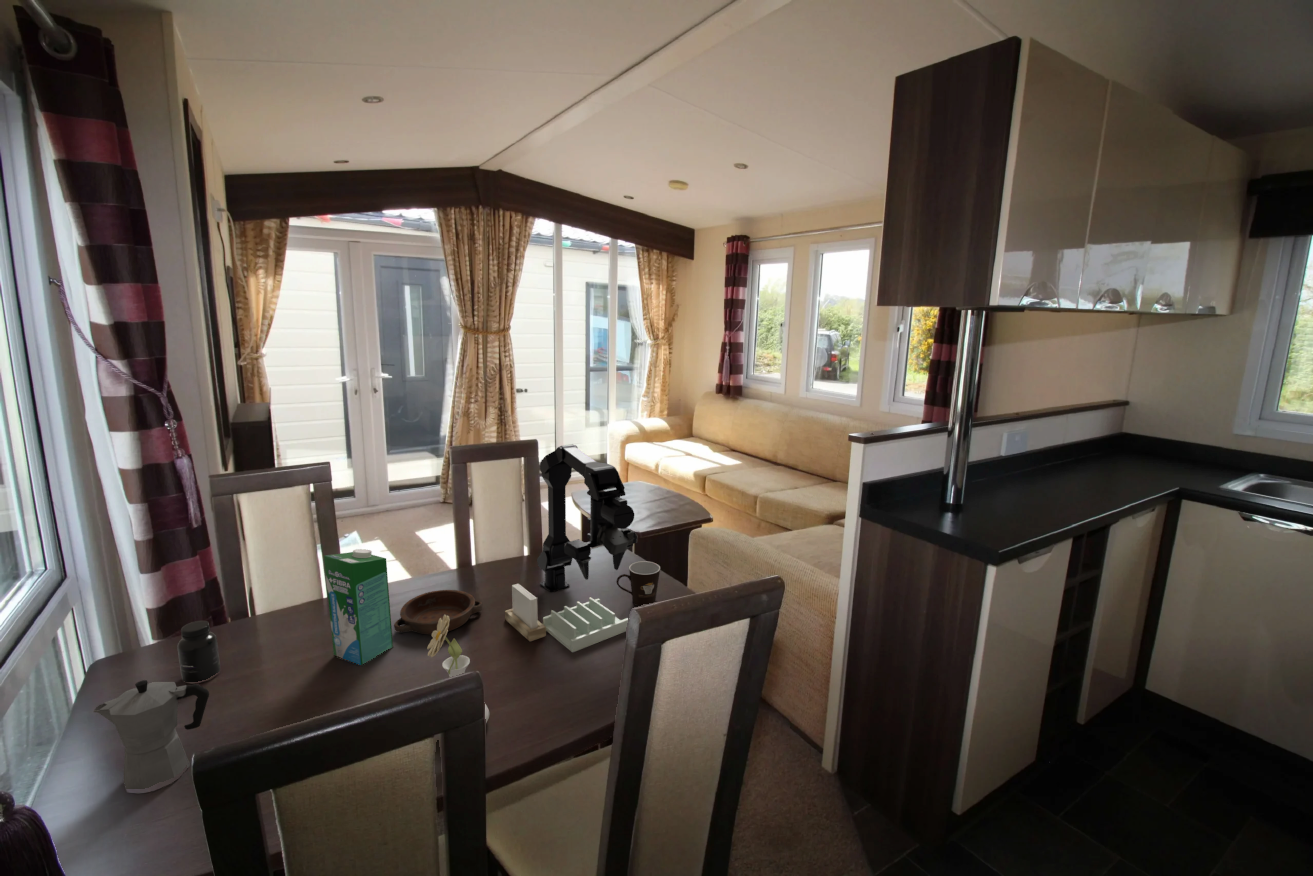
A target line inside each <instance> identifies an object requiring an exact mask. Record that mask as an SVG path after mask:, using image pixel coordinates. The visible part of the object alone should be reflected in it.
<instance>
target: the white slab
mask: <svg viewBox="0 0 1313 876" xmlns="http://www.w3.org/2000/svg"><path fill="white" fill-rule="evenodd" d="M511 599H512V600H511V601H512V602H511V604H512V608H513V614H514V615H515V616H516V617H518V618H519V619H520V620H521V621H522V622H523V623H525V624H526V625H527V626H528V627H529V628H530V629H534V628H537V627H538V621H539V620H538V619H539V618H538V597H536V596H535V595H533V593H531V592H530V591H528V590H527V589H526V588H525V587H524V586H522V585H521V584H520V583H516V584H512V585H511ZM512 608H511V609H512Z"/></svg>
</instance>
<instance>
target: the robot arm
mask: <svg viewBox="0 0 1313 876" xmlns="http://www.w3.org/2000/svg"><path fill="white" fill-rule="evenodd" d="M539 469H540V473H541V478H542V479H543V481H544V482H545V483H546V485H547V509H548V510H547V511H548V513H547V515H548V516H547V517H548V519H547V520H548V522H547V523H548V535H547V536H546V538H545V540H544V542H543V543H542V551H541V552H540V554H539V556H538V557H537V559H536V561H537V567H539V569H540V570H541V571H543V572H544V580H543V581H541V582H539V585H540V586H541V587H543V588H544V589H545V590H548V592H550V593H552V592H556V591H558V590H562V589H565V588H569V587H570V585H571V584H570V583H569V582H567V581H566V568H565V567H568V566H572V563H573V561H572V560H573V559H574V560H575V562H576V564H577V565H578V567H579V569H580V570H579V571H580V572H581V573H582V575H583V578H584V579H585V580H587V581H588V580H589V577H590V576H589V572H590V571H589V569H590V566H589V565H590V564H589V563H590V561H591V560H592V557H591V556H590V555H591V554H592V552H591V550H594V549H597V548H601V547H604V549H606V550H607V552H608V553H609V554H610V555H612V564H613V569H614V570H615V571H618V570H619V568H620V565H621V563H622V560H623V558H624V555H625V553H626V552H627V550H628V549H629V548H632V547H633V546H634V544H637V543H638V534H637V533H636V532H635V531H634V530H632V529H631V528H629V527H630V526H631V525H632V523H633V521H634V520H635V511H634V509H633V507H631V506H630V505H628V500H627V499H626V498H622V497H625V496H626V492H625V485H624V484H623V481H622V478H621V476H620V474H619V471H618V470H617V468H616V467H615V466H614V465H613V464H610V463H607V462H598V461H597V460H595V459H593V458H592V457H590V456H589V455H587V454H586V453H585V452H584V451H582V450H580V449H579V447H578V446H577V445H576V444H573V443H572V444H563V445H560V446H558V447H557V448H556V449H555V450H553V451H551V452H550V453H548V454H547V455H545V456H544V457H543V458H542V459H541V460H540V464H539ZM573 471H576V472H577V473H578V474H580V475H581V476H582V477H583V479H584V482H583V483H584V485H585V486H586V487H587V489H588V490H587V492H586V494H587V495H588V496H590V513H589V514H590V517H589V518H586V519H587V523H588V524H589V525H590V529H589V530H590V532H589V533H587V534H586V535H587V539H589V541H587V542H584V541H583V540H581V539H574V540H571V541H570V539H569V537H568V536H567V531H566V530H567V525H566V524H567V521H566V520H567V519H566V516H567V513H566V512H567V509H566V508H567V507H566V504H567V503H566V502H567V501H566V497H567V495H566V487H567V484H569V482H570V479H571V478H572V472H573ZM606 490H607V491H606Z"/></svg>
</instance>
